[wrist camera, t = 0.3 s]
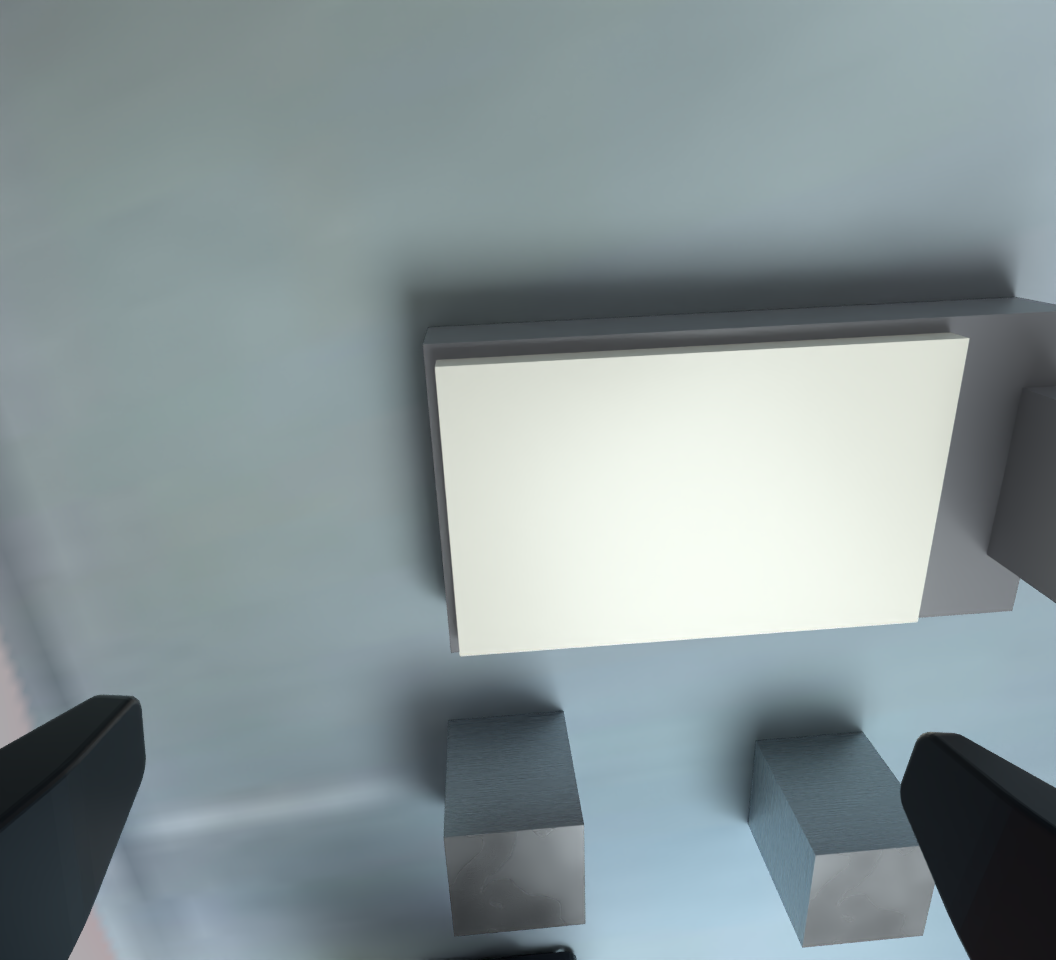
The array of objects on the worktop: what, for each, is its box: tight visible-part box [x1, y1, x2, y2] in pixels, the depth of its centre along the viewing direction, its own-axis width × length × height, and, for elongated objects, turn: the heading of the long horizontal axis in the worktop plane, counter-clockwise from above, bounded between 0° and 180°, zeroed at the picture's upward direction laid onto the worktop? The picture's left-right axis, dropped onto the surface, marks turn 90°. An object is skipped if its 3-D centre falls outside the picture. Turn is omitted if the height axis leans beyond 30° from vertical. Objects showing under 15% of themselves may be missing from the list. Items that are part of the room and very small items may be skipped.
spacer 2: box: [748, 732, 935, 948], centre depth 25 cm, size 4×4×5 cm
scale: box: [423, 297, 1056, 656], centre depth 18 cm, size 9×17×8 cm, turn 92°
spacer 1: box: [444, 711, 585, 936], centre depth 24 cm, size 4×4×5 cm
